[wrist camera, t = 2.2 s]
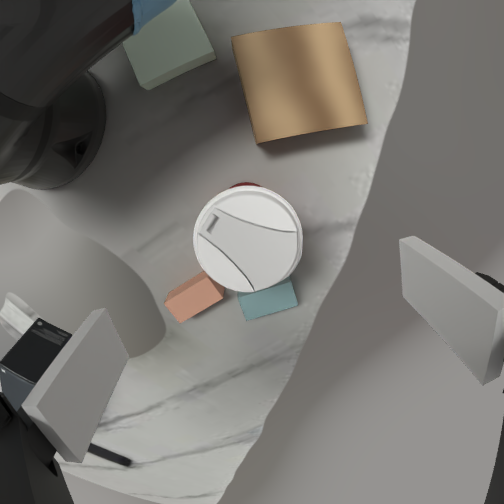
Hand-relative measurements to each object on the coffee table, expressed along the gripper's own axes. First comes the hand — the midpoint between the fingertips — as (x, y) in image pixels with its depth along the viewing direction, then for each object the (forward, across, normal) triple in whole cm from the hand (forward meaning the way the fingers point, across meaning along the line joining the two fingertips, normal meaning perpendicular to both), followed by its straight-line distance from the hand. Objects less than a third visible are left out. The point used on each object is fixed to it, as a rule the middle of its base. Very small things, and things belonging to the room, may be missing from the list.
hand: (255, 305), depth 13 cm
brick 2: (+23, 0, -10) cm, 25 cm away
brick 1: (+23, -8, -8) cm, 26 cm away
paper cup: (+23, 0, 0) cm, 23 cm away
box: (+23, -35, -16) cm, 45 cm away
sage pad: (+23, -4, +20) cm, 30 cm away
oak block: (+23, +8, +12) cm, 27 cm away
